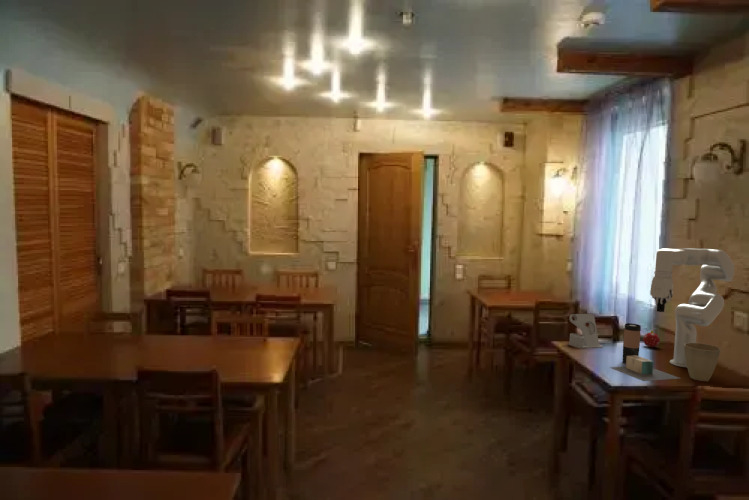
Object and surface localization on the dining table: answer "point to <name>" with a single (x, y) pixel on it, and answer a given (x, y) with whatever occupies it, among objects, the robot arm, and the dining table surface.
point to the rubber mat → (646, 377)
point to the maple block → (639, 364)
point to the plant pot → (701, 360)
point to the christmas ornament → (651, 339)
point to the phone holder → (584, 332)
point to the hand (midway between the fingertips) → (660, 311)
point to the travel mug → (631, 340)
